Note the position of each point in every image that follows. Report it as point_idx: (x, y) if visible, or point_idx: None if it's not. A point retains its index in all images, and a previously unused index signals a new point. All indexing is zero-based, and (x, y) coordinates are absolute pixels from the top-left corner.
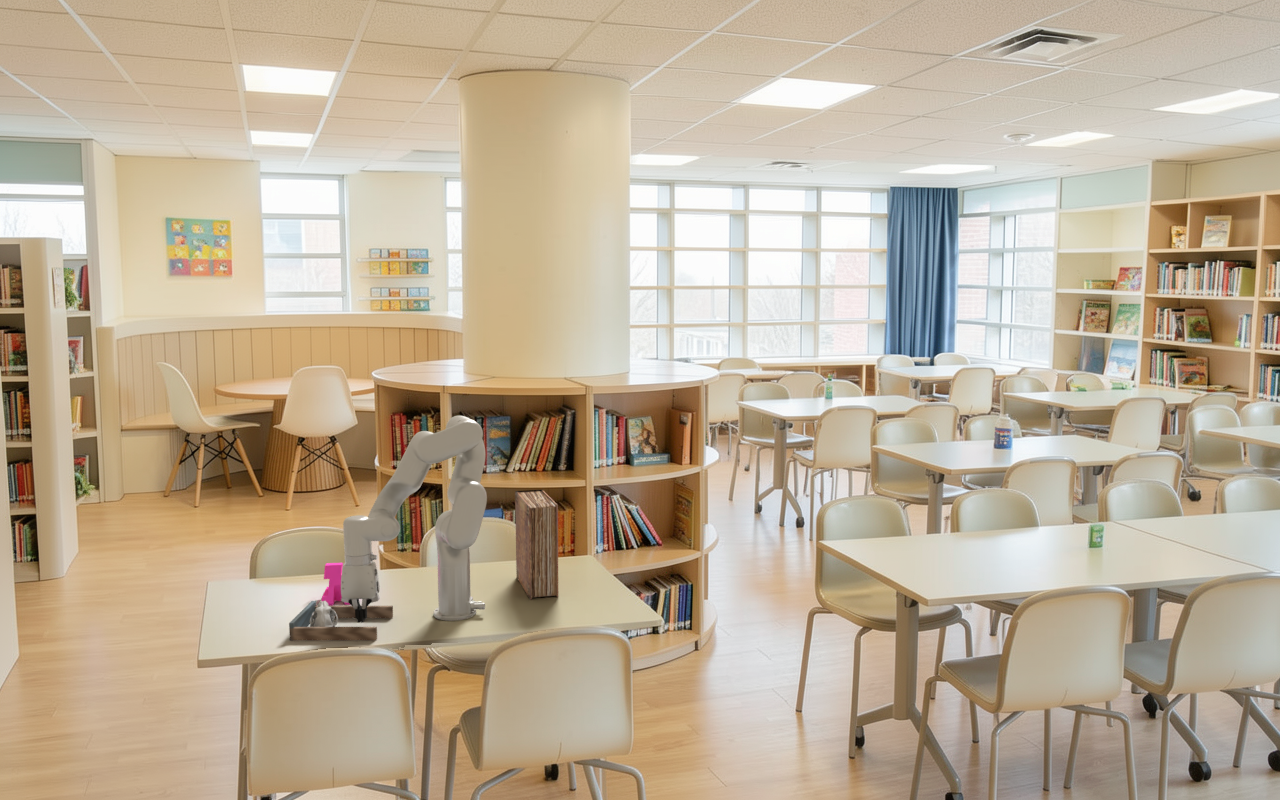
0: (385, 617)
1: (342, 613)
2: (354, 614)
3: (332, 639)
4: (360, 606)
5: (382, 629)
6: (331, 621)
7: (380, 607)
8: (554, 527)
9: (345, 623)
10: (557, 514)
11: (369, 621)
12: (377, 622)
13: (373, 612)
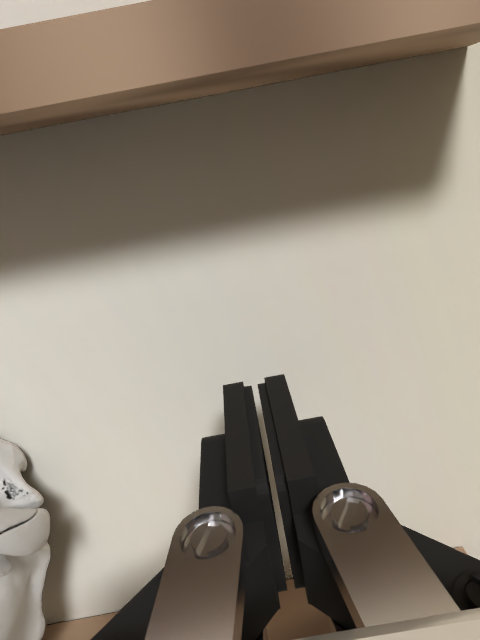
0: (394, 58)
1: None
2: (4, 128)
3: None
4: (265, 534)
5: (449, 378)
6: (7, 579)
7: (385, 43)
8: None
9: (28, 302)
10: None
11: (245, 198)
12: (343, 212)
13: (257, 76)
